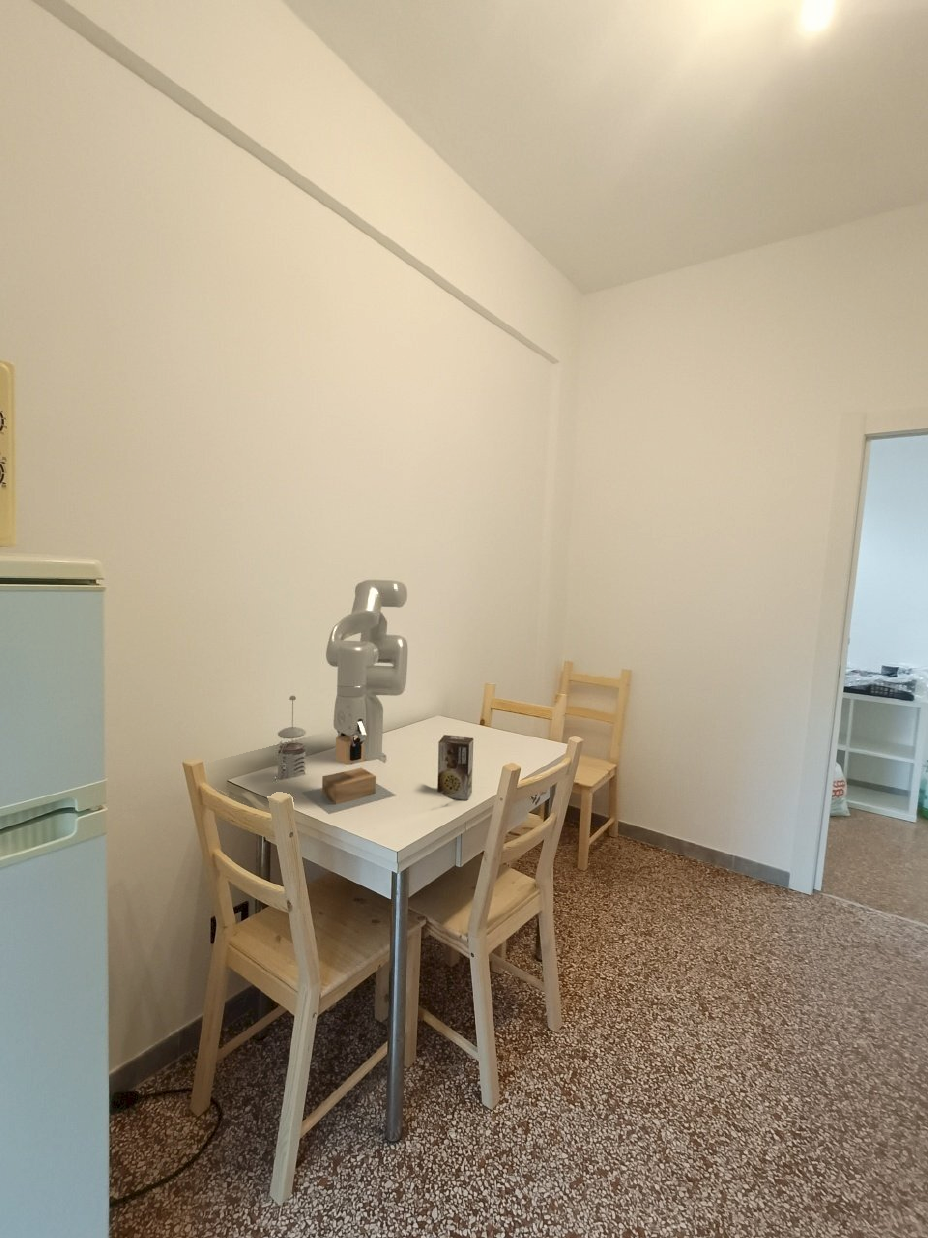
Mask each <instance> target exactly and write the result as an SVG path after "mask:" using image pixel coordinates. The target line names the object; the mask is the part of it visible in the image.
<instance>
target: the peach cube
mask: <svg viewBox="0 0 928 1238" xmlns="http://www.w3.org/2000/svg"><path fill="white" fill-rule="evenodd" d="M354 737H355V740H356V738H358V736H354ZM350 746H352V744H351V737H350V736H347V735H346V736H341V737H338V736H336V737H335V760H336V761H338V762H340V763H342V764H343V765H344V766H346V765H351V763H355V762H359V763H361V762H360V761H364V741H363V745H362V750H361V759H359V760H354V761H351V760H350ZM364 762H365V761H364ZM355 764H356V763H355Z"/></svg>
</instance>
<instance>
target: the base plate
mask: <svg viewBox="0 0 928 1238" xmlns="http://www.w3.org/2000/svg"><path fill="white" fill-rule="evenodd" d="M301 794H302V795H304V796H305V797H306V798H307V799H309V800H310V801H312V803H314V804H315V805H316V806H318V807H319V808H320V809H321V810H323V811H324V812H325V813H327V814H329V815H331V814H335V813H338V812H342V811H345V810H349V809H353V808H356V807H359V806H363V805H368V804H370V803H373V802H378V801H381V800H386V799H387V798H388V799H389V798H391V797H396V794H394V793H393V792H392V791H390V790H389V789H387V788H384V787H383V786H382V785H379V784H378V783H376V794H373V795H369V796H366V797H362V798H358V799H355V800H351V801H347V802H344V803H340V804H335V803H333V802H332V801H331V800H329V799H328V798H326V797H325V796H324V795H322V787H321V788H317V789H313V790H312V789H311V790H307V791H304V792H302V793H301Z"/></svg>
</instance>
